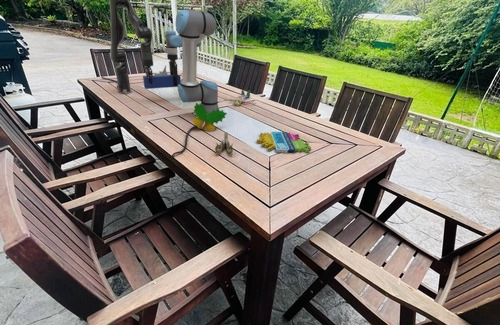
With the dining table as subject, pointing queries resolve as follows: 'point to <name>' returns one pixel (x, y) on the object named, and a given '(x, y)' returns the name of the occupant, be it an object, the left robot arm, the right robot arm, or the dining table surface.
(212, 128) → the ornament
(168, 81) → the bar
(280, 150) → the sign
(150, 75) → the airplane
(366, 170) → the dining table surface
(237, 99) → the toy
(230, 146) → the jawbone
